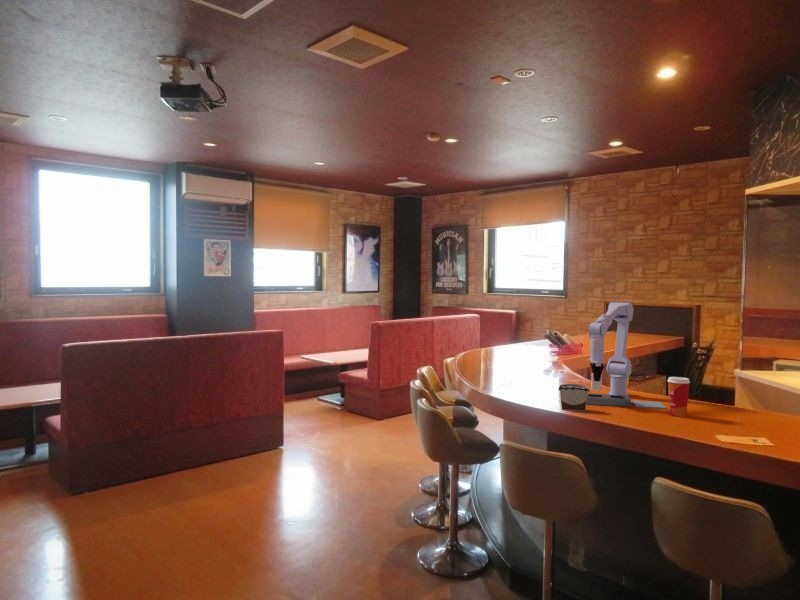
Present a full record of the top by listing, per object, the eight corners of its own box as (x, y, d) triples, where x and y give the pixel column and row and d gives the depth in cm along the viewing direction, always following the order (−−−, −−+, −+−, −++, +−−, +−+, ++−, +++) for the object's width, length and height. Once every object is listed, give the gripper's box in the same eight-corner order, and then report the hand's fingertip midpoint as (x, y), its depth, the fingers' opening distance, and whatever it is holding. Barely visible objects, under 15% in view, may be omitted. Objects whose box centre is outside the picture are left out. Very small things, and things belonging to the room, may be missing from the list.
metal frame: (580, 399, 246) (580, 392, 246) (627, 402, 241) (627, 395, 241) (581, 403, 237) (581, 397, 237) (630, 406, 231) (631, 399, 231)
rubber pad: (631, 401, 242) (631, 400, 242) (660, 403, 239) (660, 401, 239) (635, 407, 231) (635, 405, 231) (666, 409, 228) (666, 407, 228)
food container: (588, 408, 228) (588, 384, 228) (589, 411, 223) (589, 387, 222) (557, 406, 232) (558, 383, 232) (558, 409, 226) (558, 385, 226)
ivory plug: (591, 388, 242) (591, 373, 242) (600, 389, 241) (601, 373, 241) (592, 390, 238) (592, 374, 238) (601, 390, 237) (601, 375, 237)
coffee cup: (667, 412, 222) (668, 375, 222) (690, 414, 218) (690, 377, 218) (665, 416, 215) (666, 378, 215) (689, 419, 211) (689, 380, 211)
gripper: (586, 347, 247) (586, 377, 248) (588, 351, 233) (588, 382, 234) (602, 348, 245) (602, 378, 246) (606, 351, 231) (605, 383, 232)
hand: (596, 380), depth 240 cm, fingers closed on ivory plug, 4 cm apart
